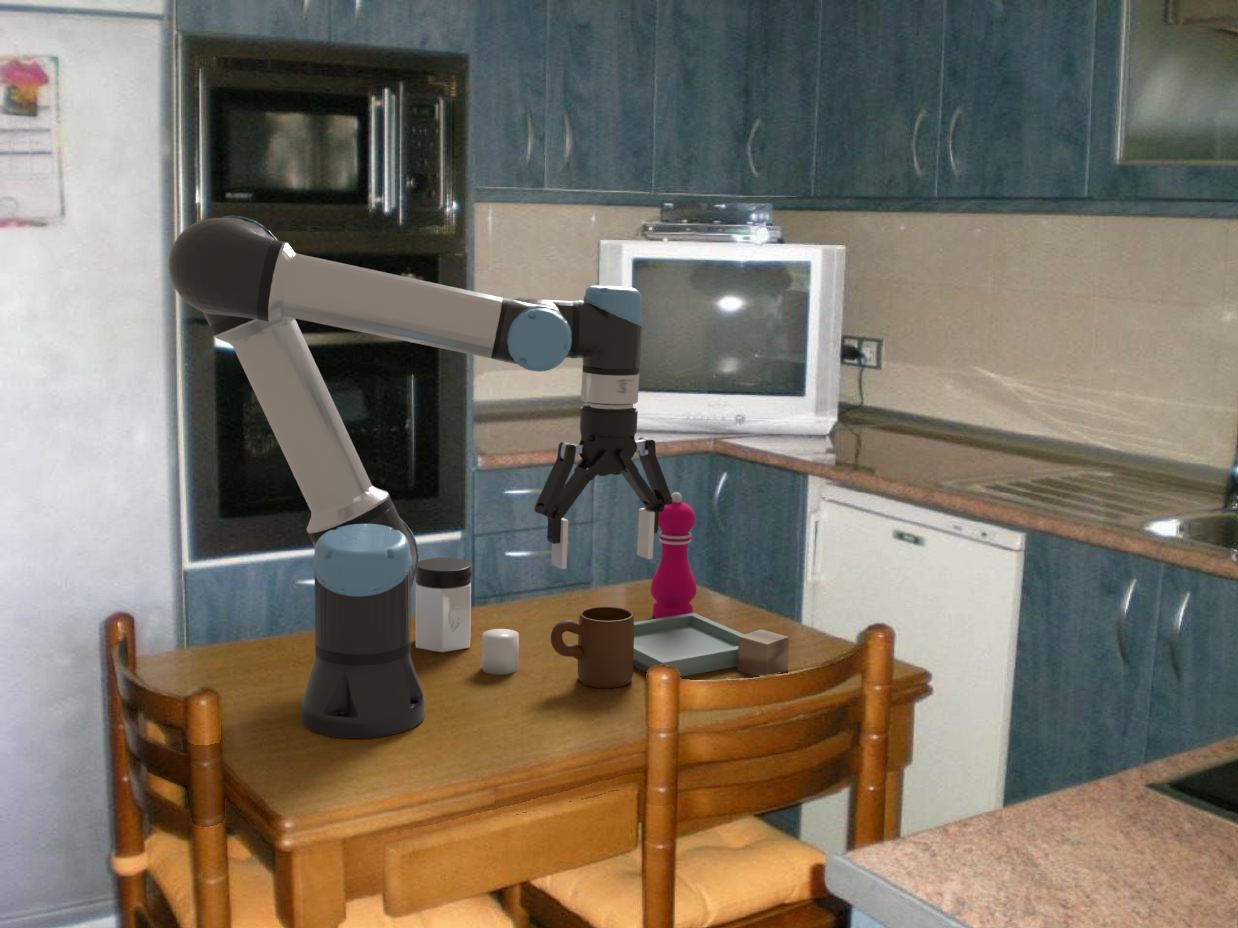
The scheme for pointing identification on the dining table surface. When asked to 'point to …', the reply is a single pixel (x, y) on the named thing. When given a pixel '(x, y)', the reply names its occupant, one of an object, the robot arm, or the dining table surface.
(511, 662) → the white rounded cylinder
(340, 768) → the dining table surface
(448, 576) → the jar
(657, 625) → the tray
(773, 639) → the block
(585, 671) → the mug
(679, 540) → the pepper mill
